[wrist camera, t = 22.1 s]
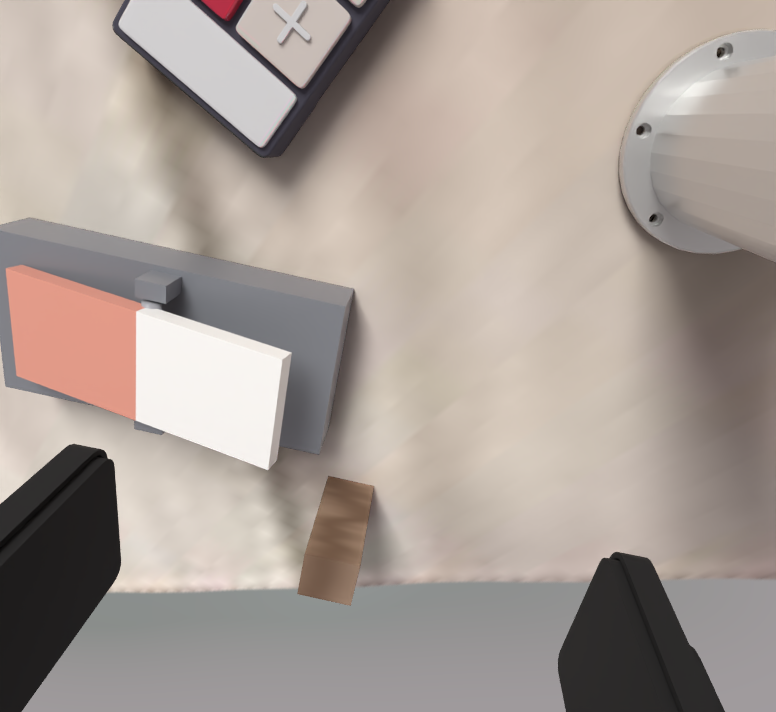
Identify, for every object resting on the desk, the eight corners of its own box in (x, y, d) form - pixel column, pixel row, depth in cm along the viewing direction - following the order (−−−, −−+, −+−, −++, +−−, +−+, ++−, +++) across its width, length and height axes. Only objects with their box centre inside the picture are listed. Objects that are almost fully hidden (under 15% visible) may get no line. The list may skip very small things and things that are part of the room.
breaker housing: (353, 288, 39) (339, 317, 33) (328, 426, 44) (313, 472, 38) (29, 217, 39) (-40, 234, 33) (41, 364, 44) (-18, 400, 38)
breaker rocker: (298, 345, 33) (282, 356, 31) (282, 456, 36) (267, 472, 34) (32, 259, 36) (5, 265, 35) (41, 367, 40) (16, 378, 38)
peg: (373, 486, 46) (360, 566, 38) (365, 521, 48) (350, 605, 39) (328, 476, 46) (304, 554, 38) (321, 511, 47) (297, 593, 39)
